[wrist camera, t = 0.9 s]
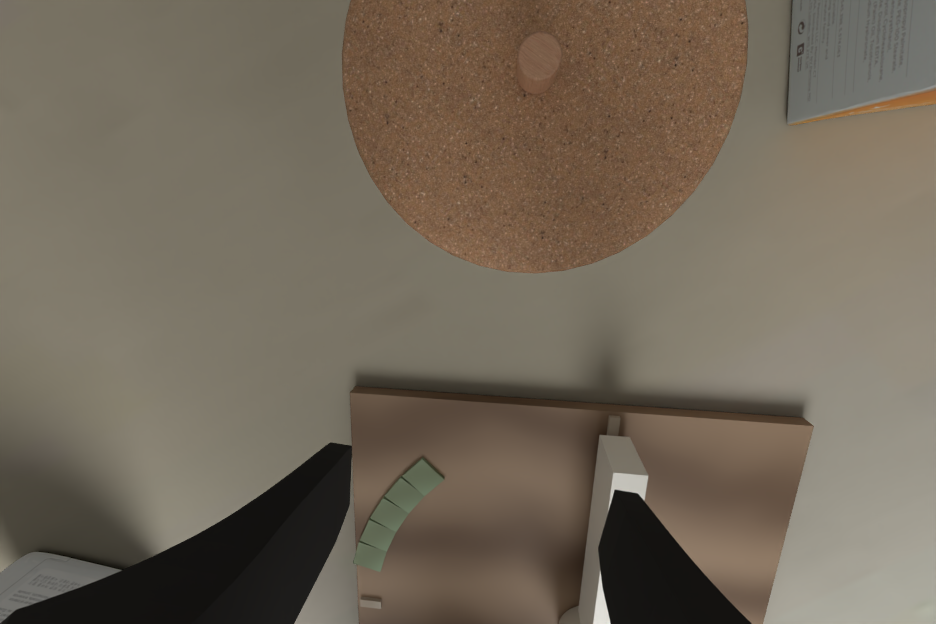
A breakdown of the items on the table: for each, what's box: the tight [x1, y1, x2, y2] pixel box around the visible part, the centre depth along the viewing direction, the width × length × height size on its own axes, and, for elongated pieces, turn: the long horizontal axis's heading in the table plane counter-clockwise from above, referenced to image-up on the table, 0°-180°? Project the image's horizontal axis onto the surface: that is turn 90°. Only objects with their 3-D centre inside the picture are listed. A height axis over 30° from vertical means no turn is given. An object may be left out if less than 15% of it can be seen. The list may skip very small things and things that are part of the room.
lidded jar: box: [342, 0, 748, 273], centre depth 15 cm, size 11×11×9 cm
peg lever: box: [559, 435, 648, 624], centre depth 21 cm, size 14×4×4 cm, turn 178°
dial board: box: [350, 386, 814, 624], centre depth 24 cm, size 18×22×1 cm
